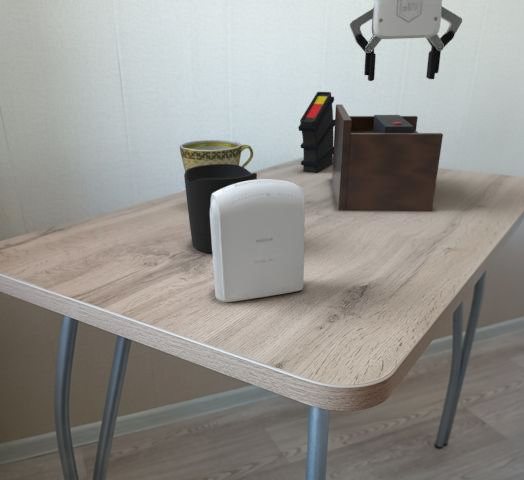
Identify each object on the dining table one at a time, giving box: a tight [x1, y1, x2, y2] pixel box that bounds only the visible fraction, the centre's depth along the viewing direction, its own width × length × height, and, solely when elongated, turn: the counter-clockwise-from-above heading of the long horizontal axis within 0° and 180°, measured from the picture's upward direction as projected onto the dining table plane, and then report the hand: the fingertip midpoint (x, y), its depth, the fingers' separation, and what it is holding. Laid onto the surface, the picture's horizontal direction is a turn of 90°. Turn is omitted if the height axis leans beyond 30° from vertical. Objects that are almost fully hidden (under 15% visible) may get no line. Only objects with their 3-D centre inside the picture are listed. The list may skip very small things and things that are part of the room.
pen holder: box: [183, 164, 258, 255], centre depth 74 cm, size 9×9×10 cm
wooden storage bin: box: [331, 103, 444, 212], centre depth 97 cm, size 15×22×14 cm
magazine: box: [297, 91, 335, 174], centre depth 117 cm, size 4×13×15 cm, turn 155°
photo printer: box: [210, 178, 306, 303], centre depth 59 cm, size 10×4×12 cm, turn 109°
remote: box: [373, 114, 414, 133], centre depth 94 cm, size 4×15×3 cm, turn 176°
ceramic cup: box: [179, 139, 254, 173], centre depth 92 cm, size 13×10×10 cm
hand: (400, 79), depth 90 cm, fingers open, 9 cm apart
